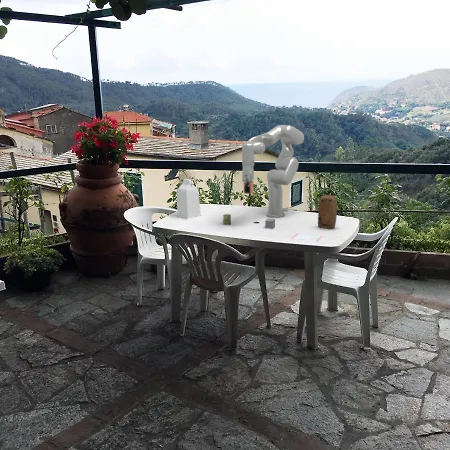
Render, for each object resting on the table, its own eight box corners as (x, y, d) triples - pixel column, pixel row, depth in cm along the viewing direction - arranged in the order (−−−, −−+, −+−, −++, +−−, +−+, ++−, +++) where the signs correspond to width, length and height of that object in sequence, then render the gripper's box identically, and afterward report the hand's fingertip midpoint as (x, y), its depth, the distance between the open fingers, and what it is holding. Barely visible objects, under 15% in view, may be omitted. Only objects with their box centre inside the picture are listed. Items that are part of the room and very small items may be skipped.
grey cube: (267, 226, 286) (267, 218, 285) (275, 226, 285) (275, 219, 283) (265, 228, 282) (265, 220, 280) (273, 228, 280) (273, 221, 279)
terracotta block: (246, 191, 290) (246, 181, 288) (253, 192, 288) (253, 181, 286) (243, 193, 285) (243, 182, 283) (251, 193, 284) (251, 182, 282)
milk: (177, 216, 317) (175, 179, 310) (190, 213, 325) (188, 177, 318) (187, 219, 309) (185, 181, 302) (200, 215, 316) (199, 179, 309)
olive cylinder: (228, 222, 297) (227, 213, 295) (232, 224, 293) (232, 215, 291) (221, 223, 294) (221, 215, 292) (226, 225, 290) (226, 216, 288)
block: (337, 227, 280) (338, 195, 274) (333, 230, 273) (334, 197, 268) (320, 224, 285) (321, 193, 280) (316, 227, 279) (316, 196, 274)
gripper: (246, 161, 291) (247, 189, 296) (238, 165, 275) (238, 194, 280) (257, 161, 288) (258, 189, 293) (249, 165, 273) (250, 195, 278)
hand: (248, 191), depth 287 cm, fingers closed on terracotta block, 5 cm apart
